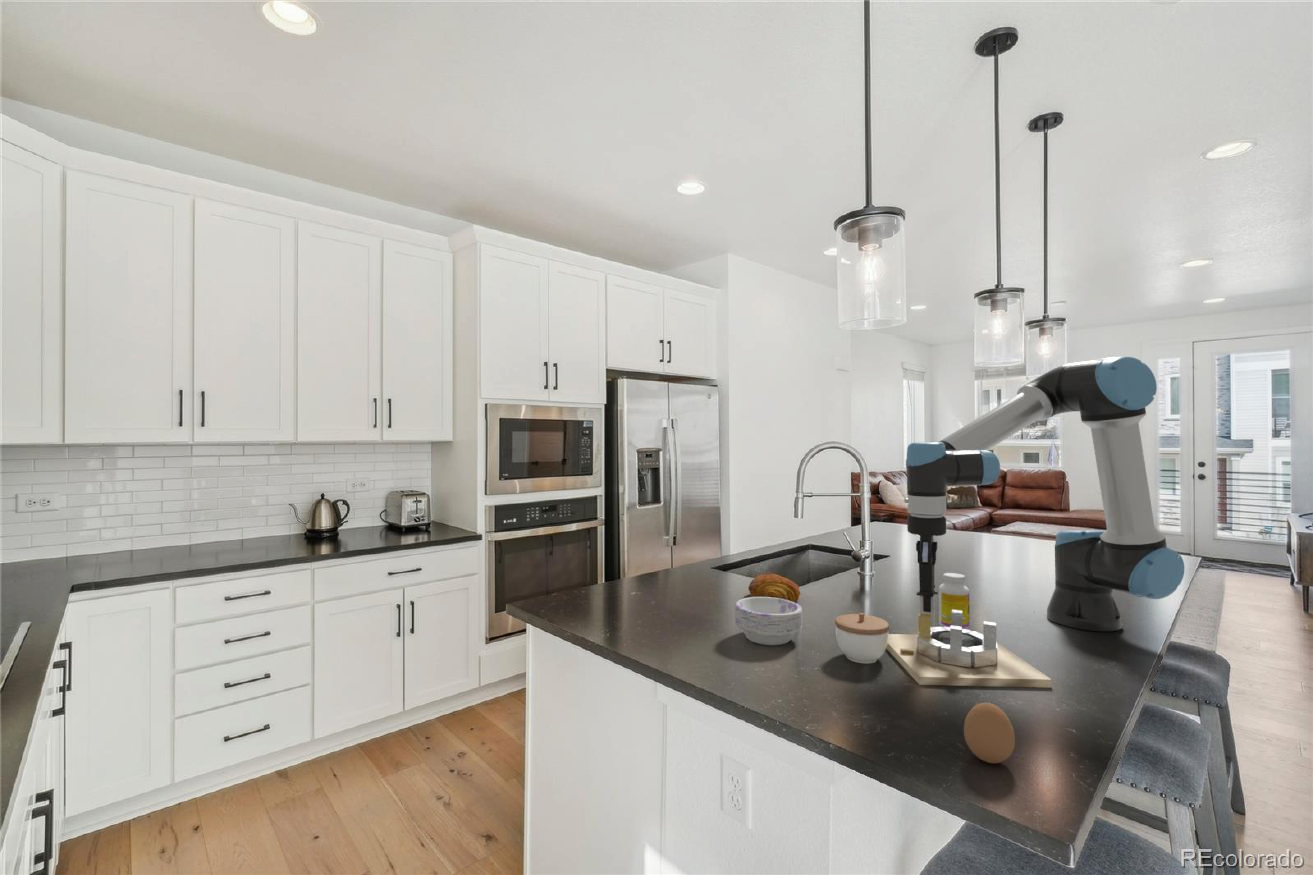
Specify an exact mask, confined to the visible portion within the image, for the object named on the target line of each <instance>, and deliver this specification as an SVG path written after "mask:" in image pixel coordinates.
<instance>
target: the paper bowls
mask: <svg viewBox="0 0 1313 875" xmlns="http://www.w3.org/2000/svg"><path fill="white" fill-rule="evenodd" d="M734 612H735V613H734V620H735V621H734V623H735V626H736V627H737V628H738V629H740V630H742V631H743V633H744V636H745V637H746V638H747V639H748V640H749V641H751V642H752V643H755V644H759V645H765V646H781V645H785V644H787V643H789V642H790V641H791V640H792V638H793V637H794V635H798V634H799V633H800V632H802V629H803V608H802V606H801V605H800V604H798V603H796V602H795V603H794V602H792V601H789V600H785V599H780V598H773V597H752V596H749V597H744V598H741V599H739V600H737V601H736V602H735V608H734Z"/></svg>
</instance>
